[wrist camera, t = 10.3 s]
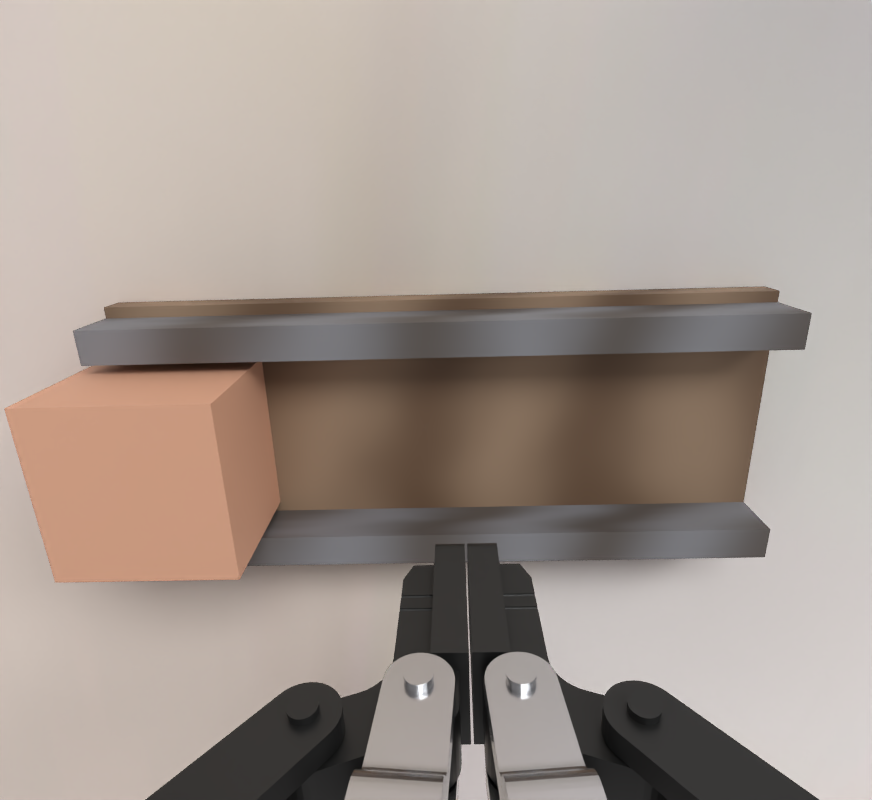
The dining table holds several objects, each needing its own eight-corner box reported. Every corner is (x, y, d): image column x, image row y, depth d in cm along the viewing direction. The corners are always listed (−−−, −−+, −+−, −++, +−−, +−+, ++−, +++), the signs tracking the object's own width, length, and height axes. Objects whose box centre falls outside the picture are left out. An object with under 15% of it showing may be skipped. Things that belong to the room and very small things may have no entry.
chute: (764, 286, 21) (814, 300, 18) (726, 523, 25) (763, 566, 22) (118, 302, 22) (69, 318, 19) (166, 533, 25) (131, 576, 22)
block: (261, 357, 21) (210, 404, 17) (280, 501, 23) (239, 579, 19) (100, 361, 21) (4, 408, 17) (133, 504, 23) (55, 582, 19)
